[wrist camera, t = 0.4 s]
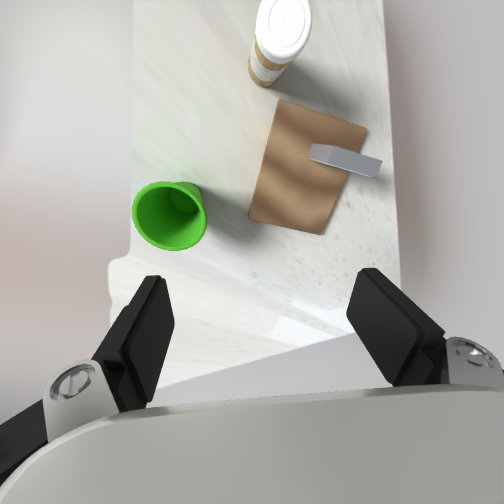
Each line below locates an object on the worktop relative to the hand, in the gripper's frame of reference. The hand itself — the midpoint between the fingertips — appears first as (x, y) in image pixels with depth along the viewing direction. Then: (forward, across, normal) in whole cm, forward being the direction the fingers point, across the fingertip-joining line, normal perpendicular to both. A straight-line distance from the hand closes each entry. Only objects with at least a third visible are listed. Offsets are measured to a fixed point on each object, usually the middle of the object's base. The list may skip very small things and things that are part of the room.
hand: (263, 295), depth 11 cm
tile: (+28, -14, -4) cm, 31 cm away
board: (+29, -10, -1) cm, 31 cm away
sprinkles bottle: (+29, -3, -15) cm, 33 cm away
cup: (+29, +9, +2) cm, 31 cm away
